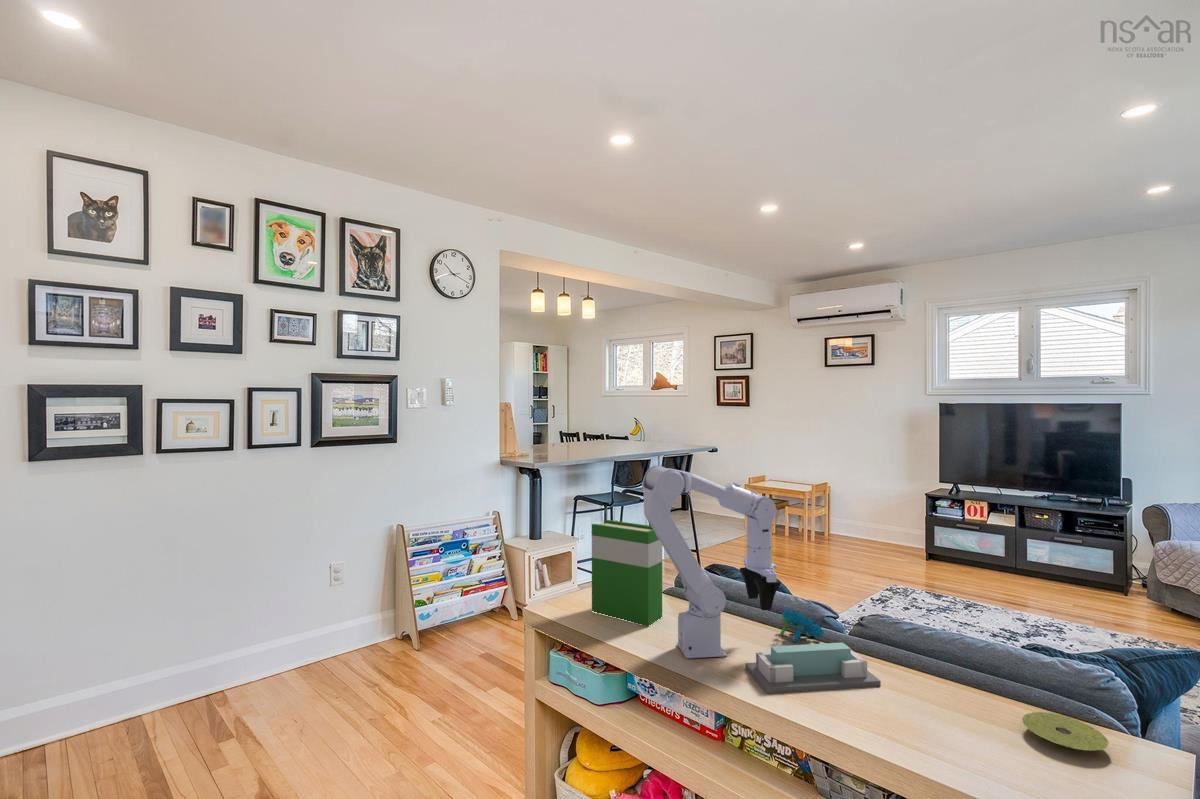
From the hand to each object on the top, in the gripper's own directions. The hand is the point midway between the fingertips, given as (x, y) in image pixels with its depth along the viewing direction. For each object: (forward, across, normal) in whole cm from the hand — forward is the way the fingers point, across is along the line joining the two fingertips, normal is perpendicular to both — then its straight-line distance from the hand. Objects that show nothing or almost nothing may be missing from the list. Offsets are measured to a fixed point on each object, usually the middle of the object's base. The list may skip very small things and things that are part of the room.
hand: (759, 603), depth 136 cm
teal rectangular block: (+8, -17, -4) cm, 19 cm away
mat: (+10, -44, -35) cm, 57 cm away
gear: (+10, +2, -11) cm, 15 cm away
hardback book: (+10, +22, +28) cm, 37 cm away
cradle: (+9, -17, -4) cm, 20 cm away
